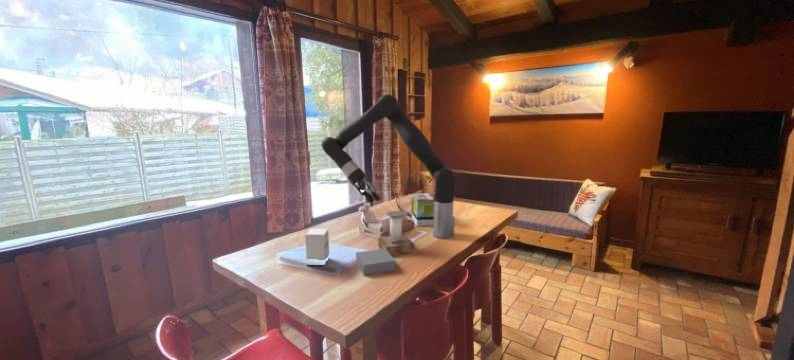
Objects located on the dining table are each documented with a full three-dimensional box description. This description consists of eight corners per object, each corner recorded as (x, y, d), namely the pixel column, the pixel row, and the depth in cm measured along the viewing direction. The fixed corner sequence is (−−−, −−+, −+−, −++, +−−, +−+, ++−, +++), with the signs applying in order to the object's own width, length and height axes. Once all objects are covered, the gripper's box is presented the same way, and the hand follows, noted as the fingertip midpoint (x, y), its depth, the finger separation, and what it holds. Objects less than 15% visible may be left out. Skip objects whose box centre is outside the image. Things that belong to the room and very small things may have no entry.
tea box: (435, 225, 171) (435, 198, 168) (416, 226, 170) (416, 199, 167) (428, 217, 186) (429, 192, 183) (411, 218, 184) (411, 192, 182)
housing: (399, 237, 143) (399, 210, 141) (404, 241, 137) (404, 214, 135) (386, 238, 141) (386, 212, 139) (391, 243, 135) (391, 216, 133)
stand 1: (385, 257, 131) (385, 248, 130) (395, 270, 120) (395, 260, 119) (356, 262, 127) (356, 252, 126) (363, 275, 116) (363, 265, 115)
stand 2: (403, 242, 147) (403, 234, 147) (413, 252, 136) (413, 243, 136) (378, 245, 143) (378, 237, 143) (386, 256, 132) (386, 247, 132)
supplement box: (325, 266, 123) (324, 234, 121) (306, 266, 123) (304, 234, 121) (329, 258, 130) (328, 228, 128) (311, 258, 131) (310, 228, 128)
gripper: (353, 167, 137) (377, 196, 135) (365, 167, 151) (386, 194, 148) (341, 178, 139) (364, 207, 136) (353, 178, 152) (375, 204, 150)
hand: (376, 200), depth 142 cm, fingers open, 8 cm apart
